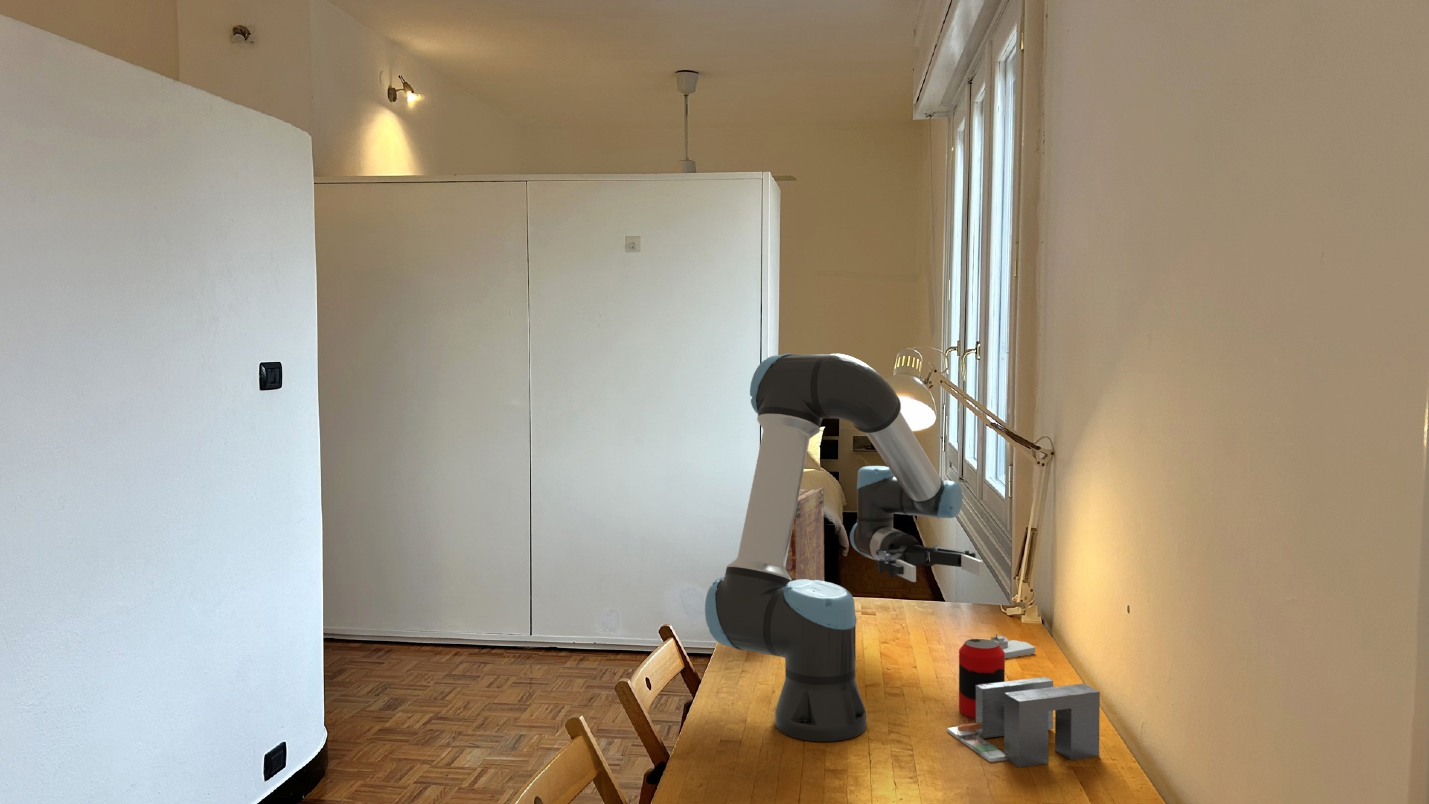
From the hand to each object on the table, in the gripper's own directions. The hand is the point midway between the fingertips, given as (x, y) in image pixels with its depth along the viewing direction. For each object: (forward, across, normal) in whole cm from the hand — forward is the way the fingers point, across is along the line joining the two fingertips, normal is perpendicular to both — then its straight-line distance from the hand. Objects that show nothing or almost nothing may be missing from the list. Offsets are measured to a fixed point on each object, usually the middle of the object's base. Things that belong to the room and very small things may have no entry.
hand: (948, 571), depth 183 cm
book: (-51, +11, -22) cm, 57 cm away
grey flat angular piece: (-18, -22, -23) cm, 37 cm away
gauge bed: (+26, +2, -22) cm, 34 cm away
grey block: (+24, +2, -22) cm, 32 cm away
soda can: (+12, 0, -22) cm, 25 cm away
